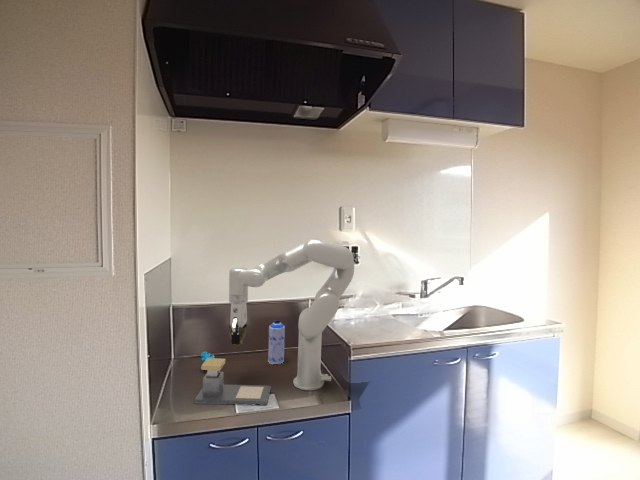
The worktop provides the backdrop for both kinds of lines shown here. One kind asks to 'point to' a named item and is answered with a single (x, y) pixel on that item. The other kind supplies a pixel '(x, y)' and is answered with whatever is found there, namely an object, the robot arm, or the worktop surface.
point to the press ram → (213, 367)
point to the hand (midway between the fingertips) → (237, 340)
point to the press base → (231, 393)
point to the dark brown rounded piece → (241, 332)
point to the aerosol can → (276, 343)
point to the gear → (206, 356)
